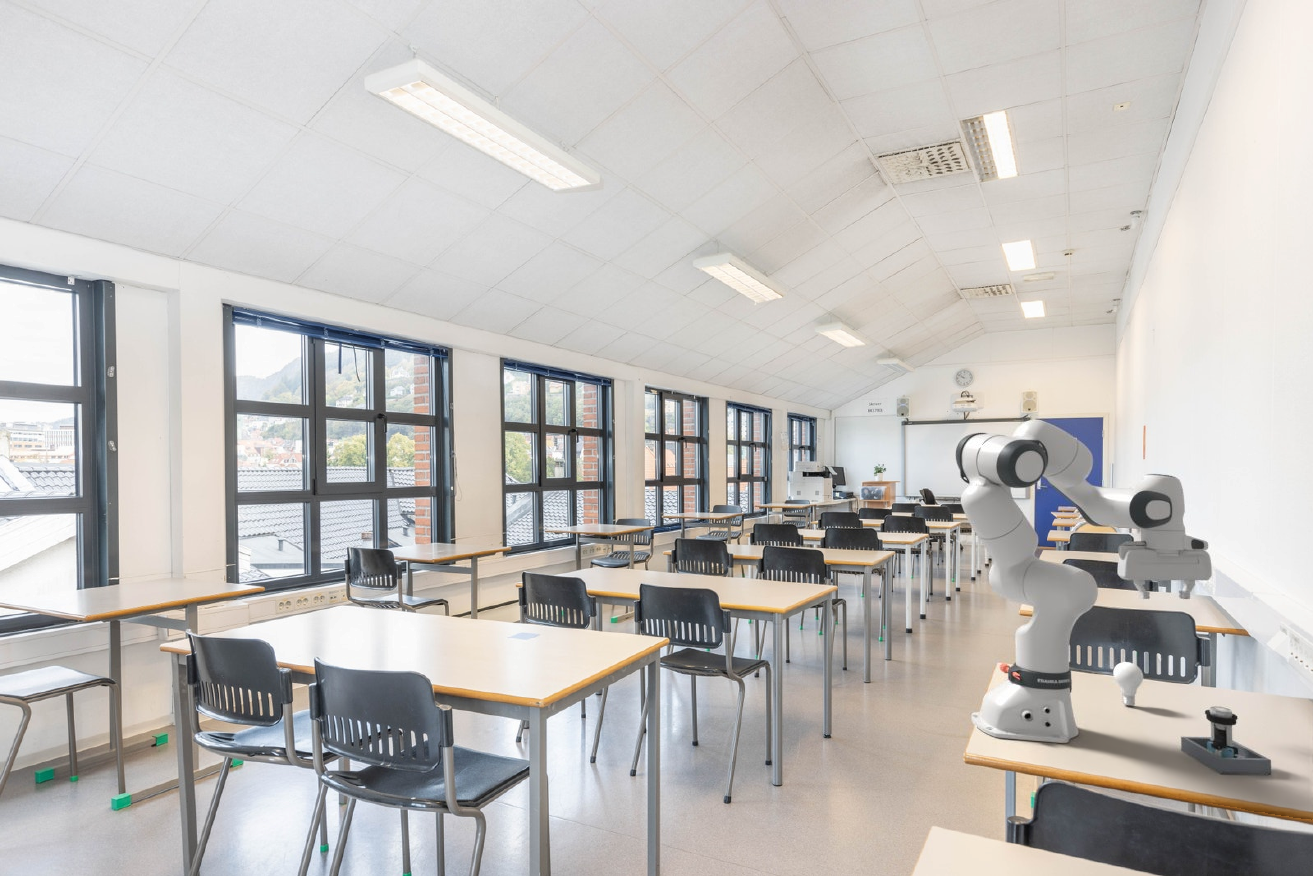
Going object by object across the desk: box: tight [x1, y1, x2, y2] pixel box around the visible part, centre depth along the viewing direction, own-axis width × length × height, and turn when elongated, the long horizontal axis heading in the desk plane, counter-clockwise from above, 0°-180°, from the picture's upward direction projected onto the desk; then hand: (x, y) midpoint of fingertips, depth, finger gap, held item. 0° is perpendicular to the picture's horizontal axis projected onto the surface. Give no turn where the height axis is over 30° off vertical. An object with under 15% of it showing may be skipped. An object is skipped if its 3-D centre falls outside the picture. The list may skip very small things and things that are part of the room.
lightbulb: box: [1112, 661, 1144, 708], centre depth 182 cm, size 6×6×11 cm
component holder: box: [1180, 736, 1272, 776], centre depth 148 cm, size 10×12×3 cm
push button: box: [1204, 705, 1245, 758], centre depth 148 cm, size 7×5×10 cm
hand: (1164, 598), depth 172 cm, fingers open, 8 cm apart
